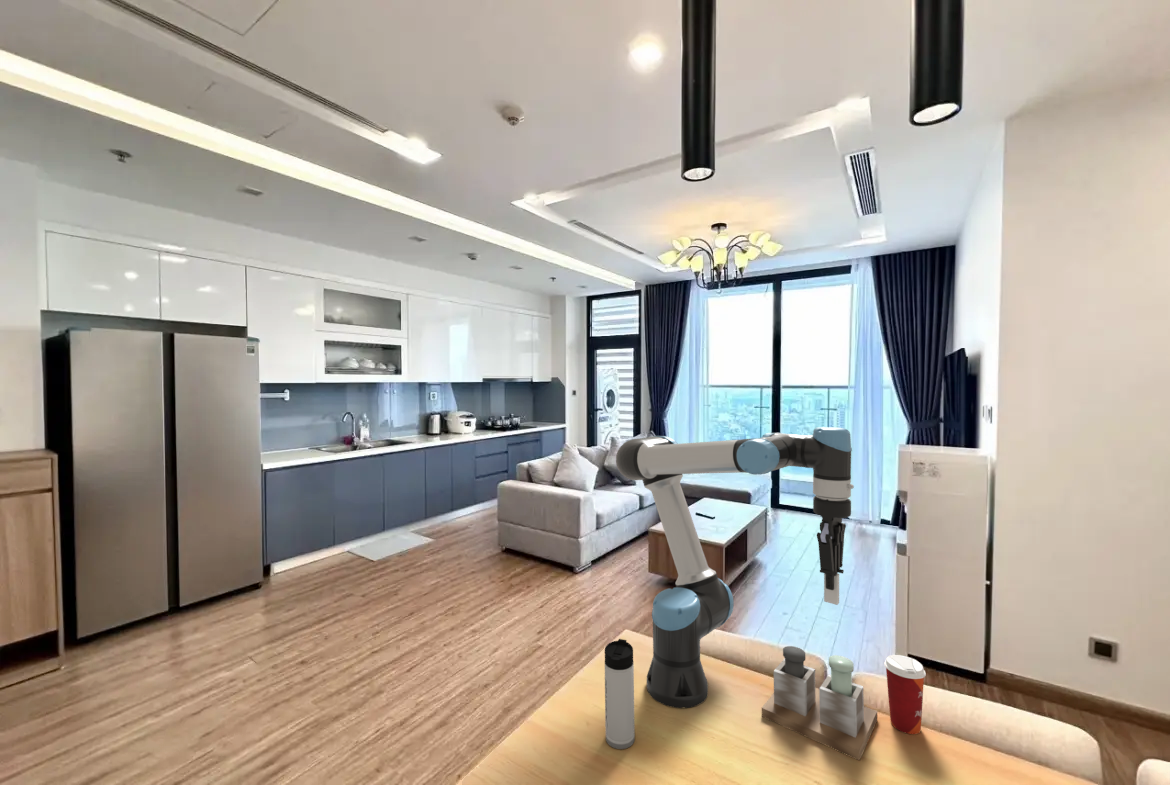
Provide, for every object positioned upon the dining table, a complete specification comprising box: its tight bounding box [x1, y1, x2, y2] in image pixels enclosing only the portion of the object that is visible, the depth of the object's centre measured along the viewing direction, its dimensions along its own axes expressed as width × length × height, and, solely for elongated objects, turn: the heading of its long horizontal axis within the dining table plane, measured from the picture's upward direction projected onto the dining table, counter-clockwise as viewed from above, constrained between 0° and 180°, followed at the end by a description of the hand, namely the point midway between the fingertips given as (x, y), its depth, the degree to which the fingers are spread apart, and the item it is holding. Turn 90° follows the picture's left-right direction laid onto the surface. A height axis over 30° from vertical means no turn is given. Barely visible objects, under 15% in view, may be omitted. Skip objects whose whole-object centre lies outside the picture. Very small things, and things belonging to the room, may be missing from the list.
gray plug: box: [782, 645, 806, 679], centre depth 112 cm, size 5×5×11 cm
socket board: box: [761, 657, 878, 761], centre depth 109 cm, size 20×16×10 cm
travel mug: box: [604, 638, 636, 750], centre depth 104 cm, size 6×7×20 cm
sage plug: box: [828, 654, 855, 697], centre depth 105 cm, size 5×5×11 cm
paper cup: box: [883, 654, 927, 735], centre depth 107 cm, size 8×8×14 cm
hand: (831, 602), depth 107 cm, fingers closed
